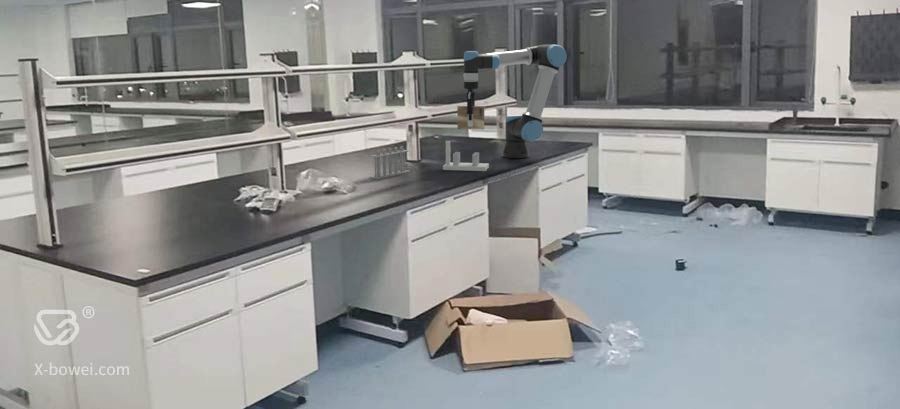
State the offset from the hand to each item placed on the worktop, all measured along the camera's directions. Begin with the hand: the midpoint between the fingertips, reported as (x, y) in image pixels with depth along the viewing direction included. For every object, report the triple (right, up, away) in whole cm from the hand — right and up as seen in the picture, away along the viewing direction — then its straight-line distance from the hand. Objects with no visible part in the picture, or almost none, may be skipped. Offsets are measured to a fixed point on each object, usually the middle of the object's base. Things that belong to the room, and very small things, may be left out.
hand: (470, 126), depth 401 cm
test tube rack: (-40, -27, -28) cm, 56 cm away
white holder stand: (-3, -23, -10) cm, 25 cm away
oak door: (0, -2, 0) cm, 2 cm away
